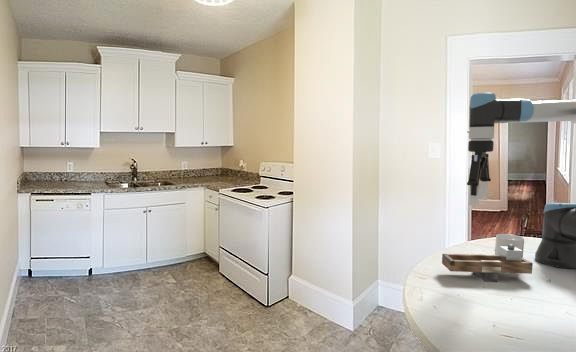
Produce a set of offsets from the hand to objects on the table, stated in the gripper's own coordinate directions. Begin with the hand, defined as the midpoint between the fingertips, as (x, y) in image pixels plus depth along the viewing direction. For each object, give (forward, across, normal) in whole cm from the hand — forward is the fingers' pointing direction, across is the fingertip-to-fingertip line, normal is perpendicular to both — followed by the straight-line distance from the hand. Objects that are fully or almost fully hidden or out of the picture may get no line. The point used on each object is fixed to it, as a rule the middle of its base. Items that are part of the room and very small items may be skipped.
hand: (478, 202), depth 127 cm
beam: (+25, +2, +3) cm, 25 cm away
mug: (+26, -18, +8) cm, 32 cm away
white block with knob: (+20, -3, +10) cm, 23 cm away
